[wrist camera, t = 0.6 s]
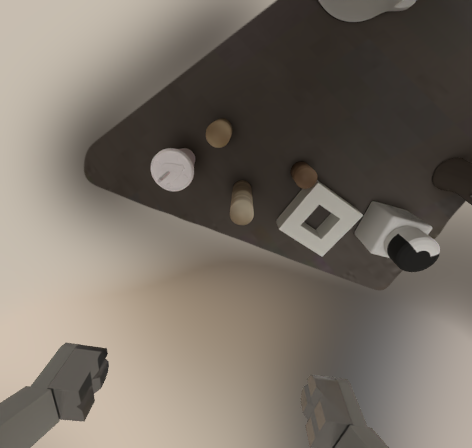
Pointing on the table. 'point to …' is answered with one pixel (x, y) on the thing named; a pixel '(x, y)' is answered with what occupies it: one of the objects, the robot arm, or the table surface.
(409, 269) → the container
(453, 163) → the beer glass
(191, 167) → the smoothie
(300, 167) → the walnut pin
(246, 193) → the maple pin
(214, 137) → the oak pin
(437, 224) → the table surface
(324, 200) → the socket block
